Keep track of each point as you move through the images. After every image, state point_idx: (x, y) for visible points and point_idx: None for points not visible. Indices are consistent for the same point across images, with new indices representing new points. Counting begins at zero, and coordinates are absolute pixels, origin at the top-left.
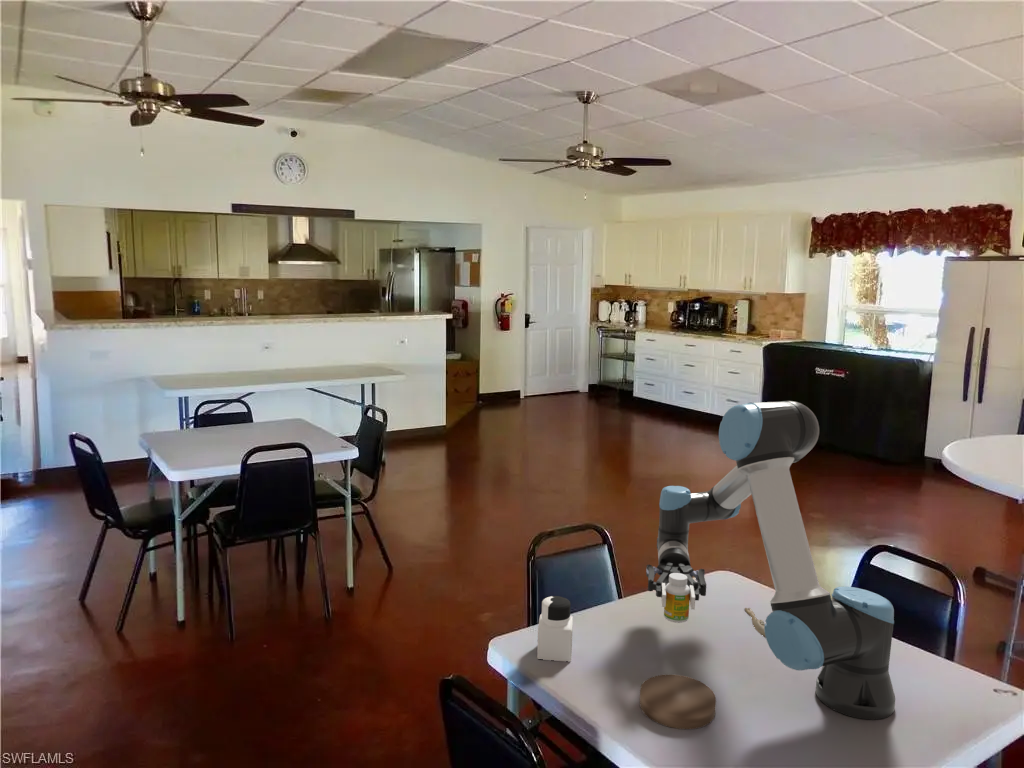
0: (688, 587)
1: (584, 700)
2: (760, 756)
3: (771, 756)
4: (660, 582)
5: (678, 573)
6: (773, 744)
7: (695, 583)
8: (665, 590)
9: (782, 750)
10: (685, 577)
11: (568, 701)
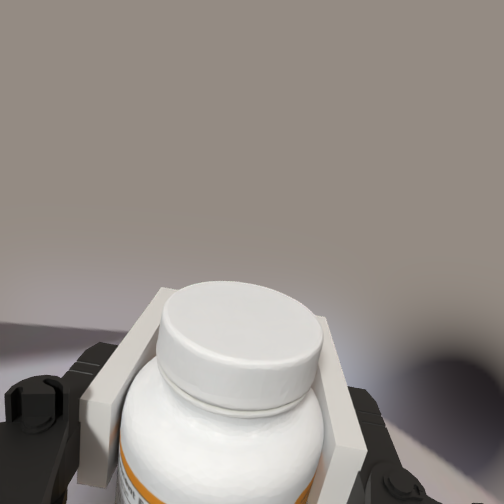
0: (149, 365)
1: (419, 472)
2: (114, 334)
3: (96, 333)
4: (382, 474)
5: (233, 350)
6: (71, 349)
7: (56, 384)
8: None
9: (67, 340)
10: (187, 295)
11: (448, 468)
